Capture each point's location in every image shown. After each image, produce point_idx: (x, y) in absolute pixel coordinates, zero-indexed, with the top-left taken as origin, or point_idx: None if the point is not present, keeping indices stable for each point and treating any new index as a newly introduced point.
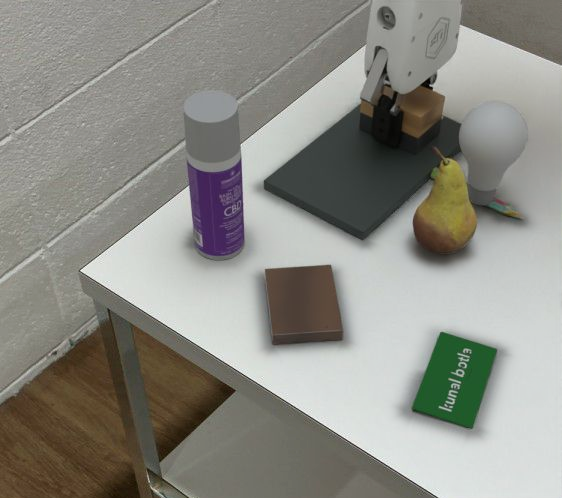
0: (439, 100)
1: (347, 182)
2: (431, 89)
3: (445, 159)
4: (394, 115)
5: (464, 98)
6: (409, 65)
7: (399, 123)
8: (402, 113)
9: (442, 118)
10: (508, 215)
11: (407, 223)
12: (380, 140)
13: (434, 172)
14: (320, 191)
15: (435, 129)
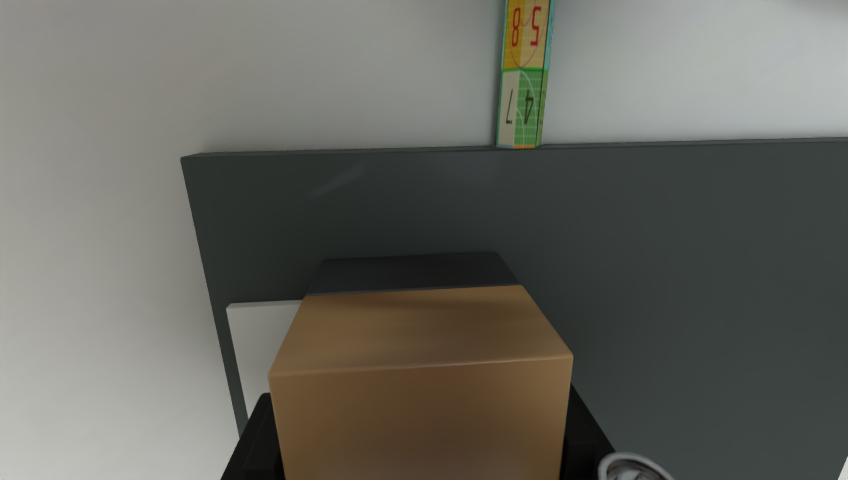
0: (338, 373)
1: (753, 330)
2: (262, 462)
3: None
4: (647, 459)
5: (31, 322)
6: None
7: (569, 399)
8: (581, 441)
9: (234, 304)
10: None
11: (798, 61)
12: None
13: (538, 134)
14: (828, 360)
15: (358, 274)
